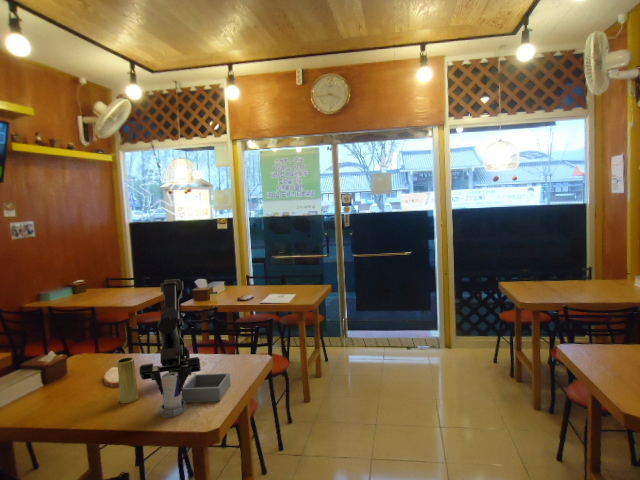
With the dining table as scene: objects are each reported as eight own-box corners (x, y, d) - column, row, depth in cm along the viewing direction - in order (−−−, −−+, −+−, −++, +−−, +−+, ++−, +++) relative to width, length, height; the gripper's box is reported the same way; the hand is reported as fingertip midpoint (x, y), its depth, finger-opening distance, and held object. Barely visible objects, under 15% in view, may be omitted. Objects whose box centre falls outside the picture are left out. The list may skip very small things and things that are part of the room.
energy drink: (185, 408, 140) (182, 372, 139) (174, 415, 135) (171, 378, 134) (171, 406, 142) (168, 371, 141) (160, 414, 137) (157, 377, 136)
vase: (120, 405, 145) (116, 364, 144) (119, 398, 151) (115, 359, 150) (139, 400, 148) (135, 360, 147) (137, 394, 154) (134, 355, 153)
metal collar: (156, 417, 135) (155, 410, 135) (166, 406, 142) (166, 399, 142) (180, 416, 134) (179, 410, 134) (189, 405, 142) (188, 399, 142)
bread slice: (121, 389, 160) (120, 379, 160) (87, 384, 167) (86, 375, 167) (156, 371, 177) (155, 362, 176) (123, 367, 184) (123, 359, 183)
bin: (182, 402, 145) (181, 389, 144) (196, 386, 158) (195, 374, 157) (220, 401, 144) (219, 388, 143) (230, 385, 157) (229, 373, 156)
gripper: (137, 341, 138) (135, 387, 128) (197, 333, 143) (199, 377, 133) (142, 356, 146) (141, 401, 136) (199, 349, 151) (201, 391, 141)
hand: (171, 393), depth 137 cm, fingers closed on energy drink, 5 cm apart
